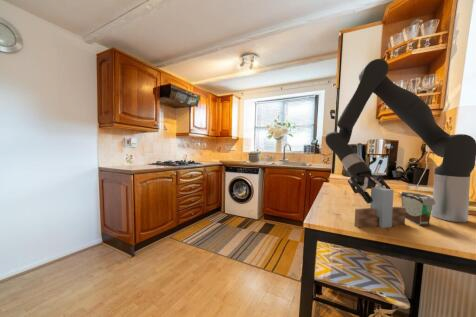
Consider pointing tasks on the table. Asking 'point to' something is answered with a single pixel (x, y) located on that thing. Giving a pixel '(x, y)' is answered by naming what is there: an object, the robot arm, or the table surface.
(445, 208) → the robot arm
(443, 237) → the table surface
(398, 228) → the table surface
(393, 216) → the walnut board
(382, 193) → the slate block
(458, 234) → the table surface
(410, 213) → the food container
